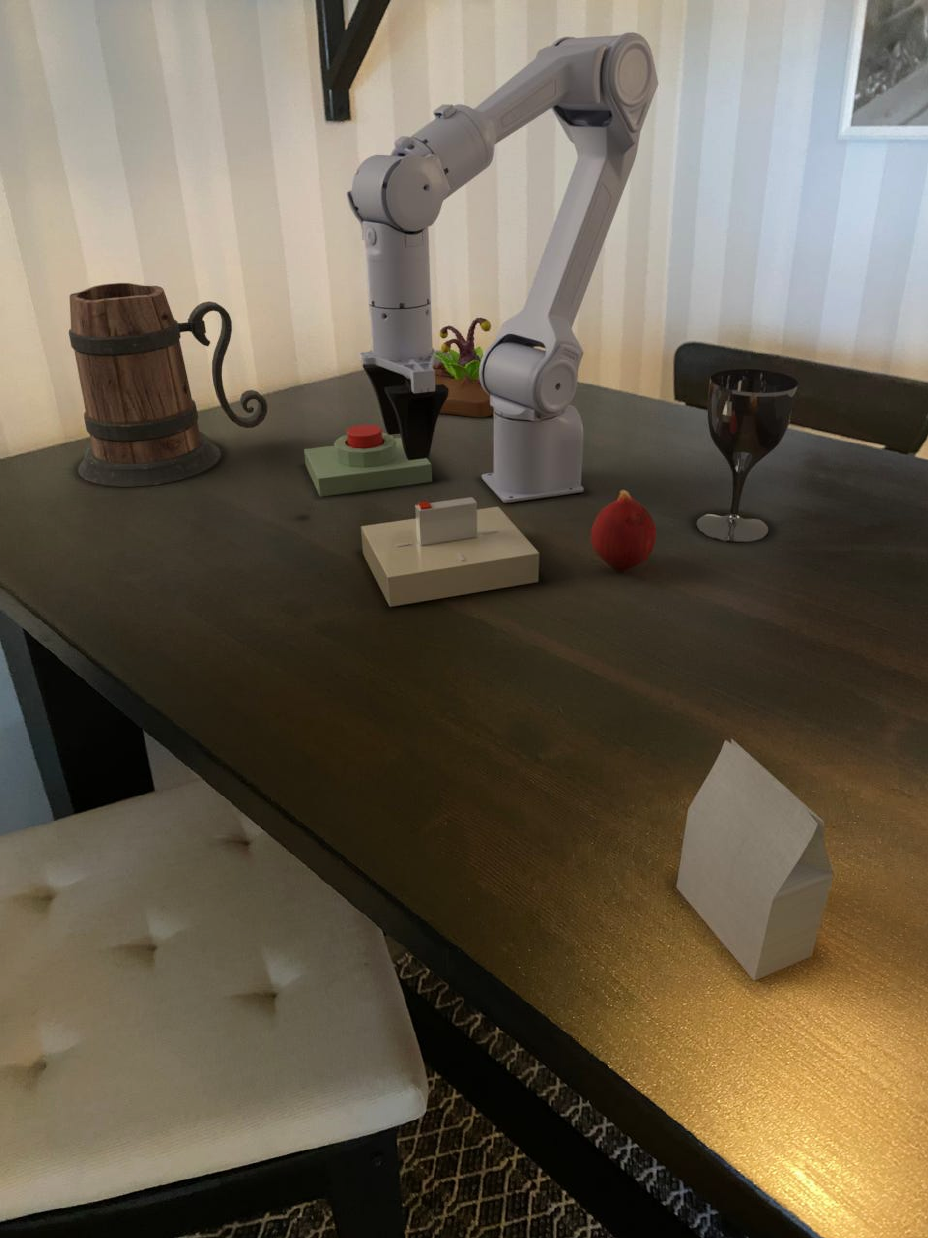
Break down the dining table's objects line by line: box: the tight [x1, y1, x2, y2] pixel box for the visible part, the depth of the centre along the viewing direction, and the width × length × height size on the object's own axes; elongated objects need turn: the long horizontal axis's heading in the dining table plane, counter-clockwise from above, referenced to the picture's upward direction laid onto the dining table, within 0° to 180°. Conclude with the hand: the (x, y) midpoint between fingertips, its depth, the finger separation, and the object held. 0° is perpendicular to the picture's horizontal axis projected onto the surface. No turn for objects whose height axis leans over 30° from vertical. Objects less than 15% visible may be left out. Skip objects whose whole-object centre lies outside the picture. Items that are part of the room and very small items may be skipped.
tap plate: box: [360, 506, 540, 608], centre depth 84 cm, size 14×11×3 cm
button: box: [346, 424, 383, 449], centre depth 104 cm, size 4×4×2 cm
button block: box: [303, 432, 433, 498], centre depth 105 cm, size 13×10×4 cm
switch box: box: [414, 496, 478, 546], centre depth 83 cm, size 6×1×4 cm, turn 108°
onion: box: [590, 489, 657, 573], centre depth 82 cm, size 6×6×8 cm
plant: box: [433, 317, 494, 419], centre depth 129 cm, size 20×20×11 cm
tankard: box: [68, 282, 268, 488], centre depth 107 cm, size 24×17×20 cm
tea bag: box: [676, 738, 835, 982], centre depth 46 cm, size 4×7×10 cm, turn 23°
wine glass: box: [695, 368, 799, 543], centre depth 88 cm, size 8×8×15 cm
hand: (407, 445), depth 89 cm, fingers open, 7 cm apart
